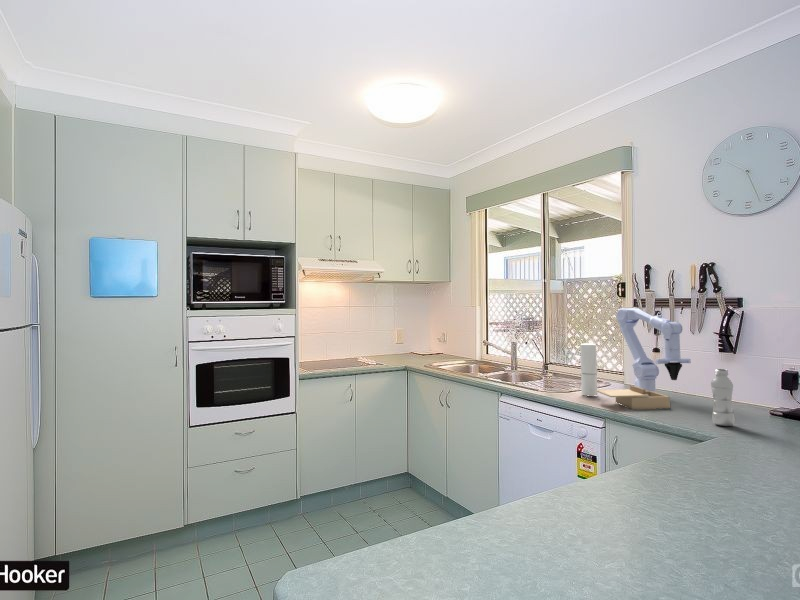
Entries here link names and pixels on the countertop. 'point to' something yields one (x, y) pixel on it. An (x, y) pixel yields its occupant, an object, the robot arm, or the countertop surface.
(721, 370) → the plastic bottle
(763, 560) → the countertop surface
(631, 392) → the lid
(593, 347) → the cylindrical container
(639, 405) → the mailer box
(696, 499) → the countertop surface
